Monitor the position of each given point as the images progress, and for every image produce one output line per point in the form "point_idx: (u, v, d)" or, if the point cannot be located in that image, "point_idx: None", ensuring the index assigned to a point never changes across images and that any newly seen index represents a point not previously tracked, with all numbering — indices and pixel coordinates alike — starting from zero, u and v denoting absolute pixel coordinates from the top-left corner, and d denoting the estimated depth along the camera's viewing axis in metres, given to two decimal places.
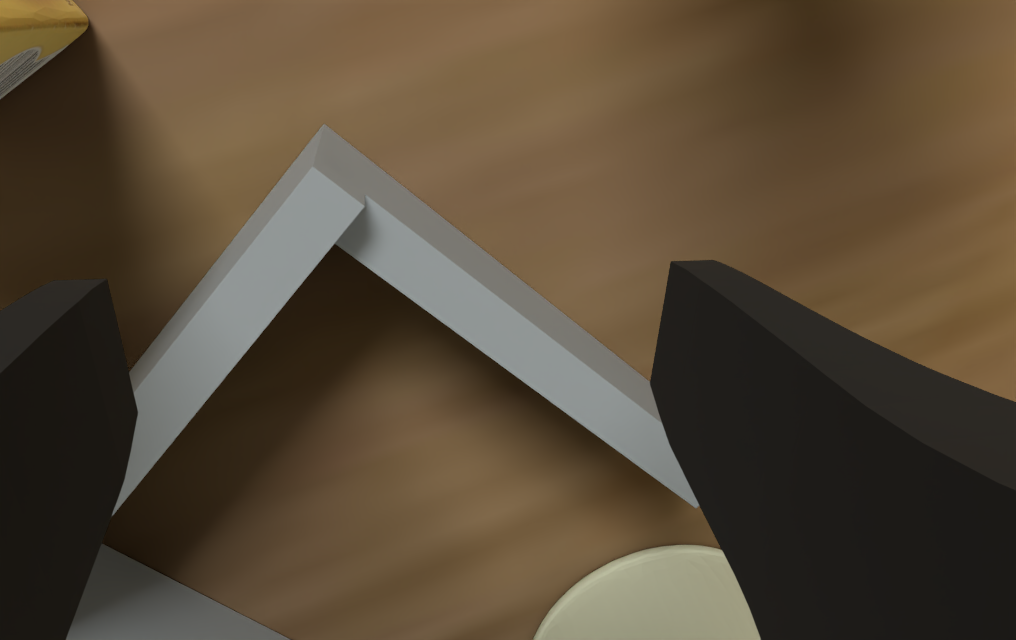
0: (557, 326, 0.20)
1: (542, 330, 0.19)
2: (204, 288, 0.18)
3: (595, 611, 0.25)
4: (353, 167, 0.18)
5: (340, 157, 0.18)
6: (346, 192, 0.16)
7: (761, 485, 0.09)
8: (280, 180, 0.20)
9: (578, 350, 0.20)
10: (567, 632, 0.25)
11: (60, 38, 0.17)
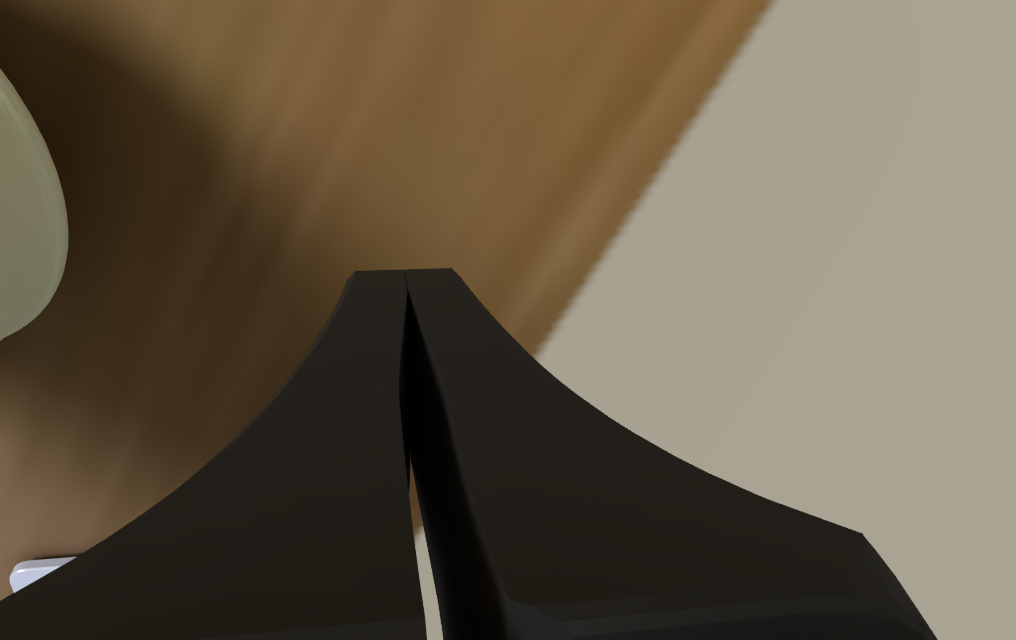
0: None
1: None
2: None
3: None
4: None
5: None
6: None
7: (439, 510, 0.08)
8: None
9: None
10: None
11: None
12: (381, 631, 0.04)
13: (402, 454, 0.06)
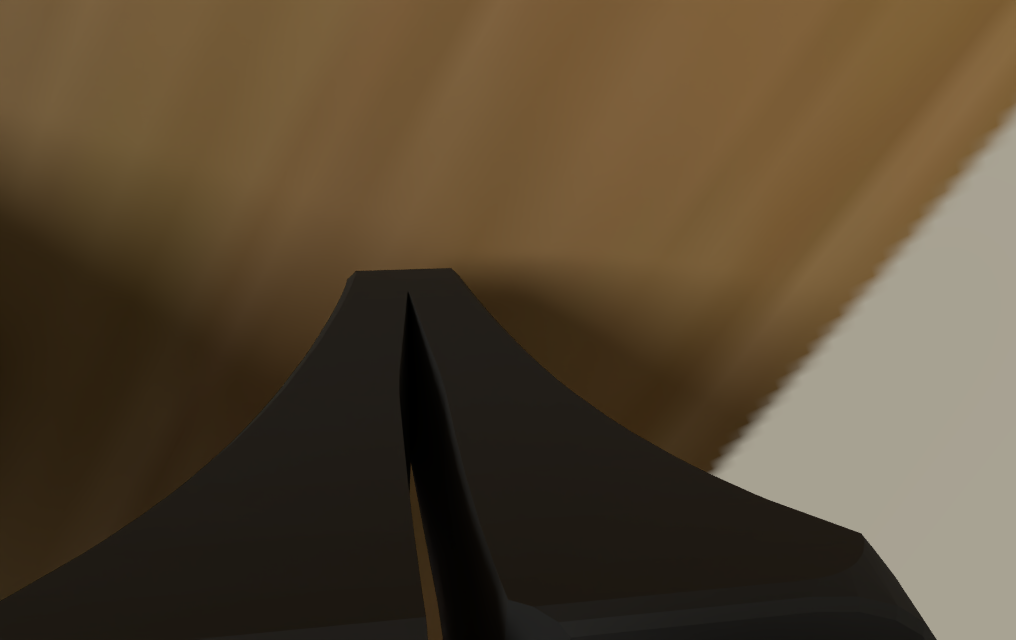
0: None
1: None
2: None
3: None
4: None
5: None
6: None
7: (438, 510, 0.08)
8: None
9: None
10: None
11: None
12: (381, 631, 0.04)
13: (402, 454, 0.06)
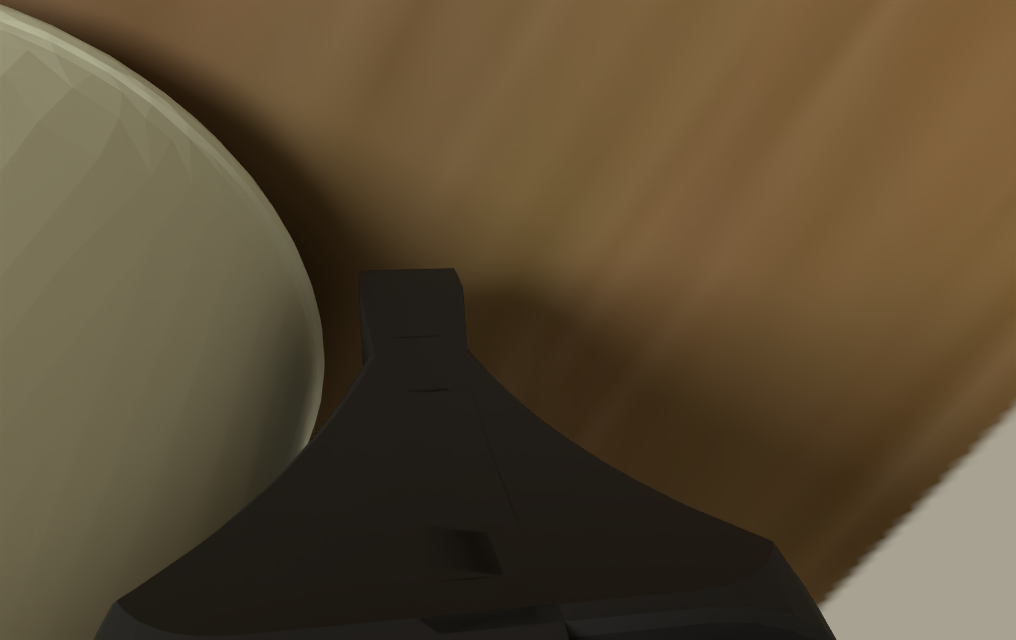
0: None
1: None
2: None
3: None
4: None
5: None
6: None
7: None
8: None
9: None
10: None
11: None
12: (520, 618, 0.04)
13: (487, 449, 0.06)
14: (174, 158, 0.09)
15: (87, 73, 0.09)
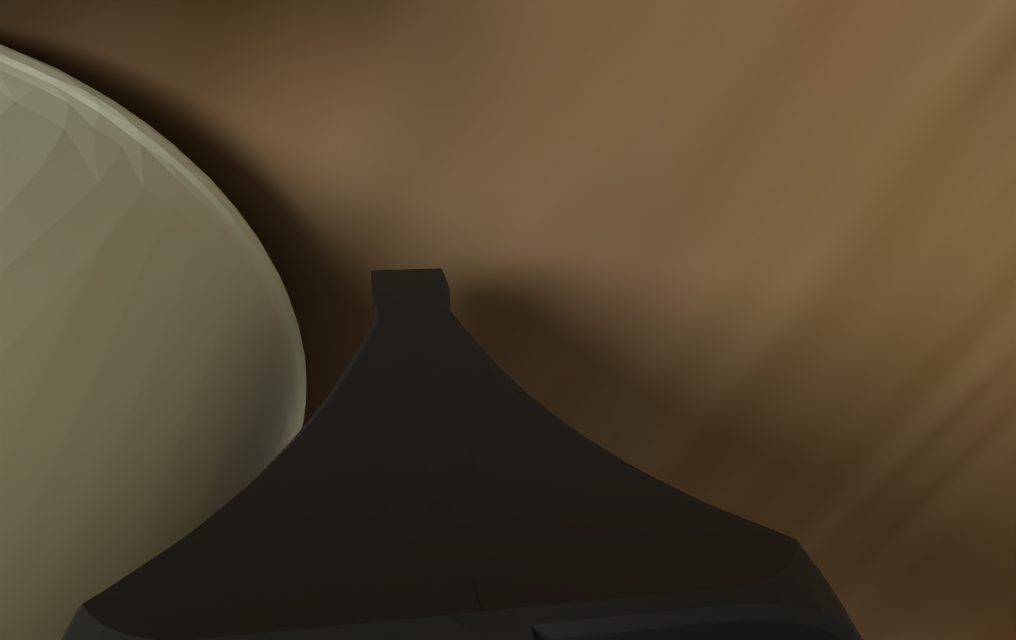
0: None
1: None
2: None
3: None
4: None
5: None
6: None
7: None
8: None
9: None
10: None
11: None
12: (485, 621, 0.04)
13: (466, 450, 0.06)
14: (125, 165, 0.09)
15: (32, 86, 0.09)
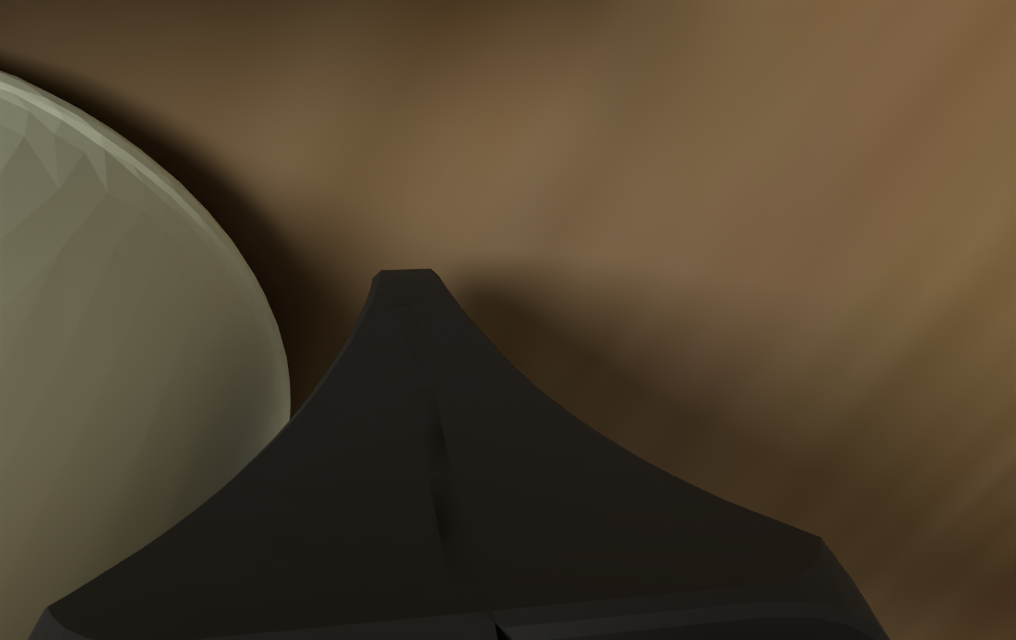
0: None
1: None
2: None
3: None
4: None
5: None
6: None
7: None
8: None
9: None
10: None
11: None
12: (451, 625, 0.04)
13: (445, 452, 0.06)
14: (87, 170, 0.09)
15: None
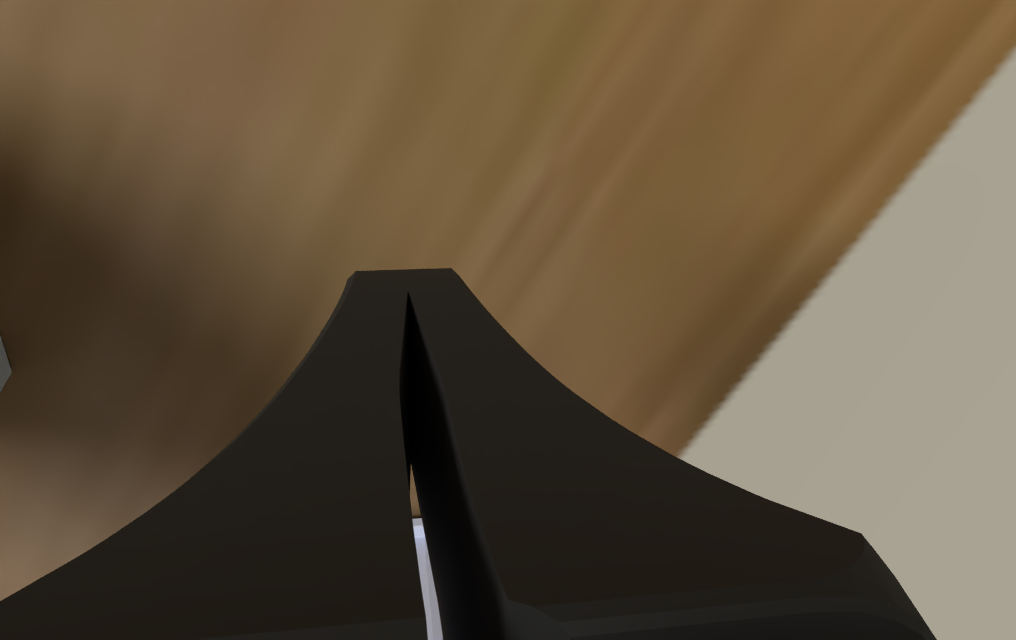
0: None
1: None
2: None
3: None
4: None
5: None
6: None
7: (438, 510, 0.08)
8: None
9: None
10: None
11: None
12: (381, 631, 0.04)
13: (402, 454, 0.06)
14: None
15: None
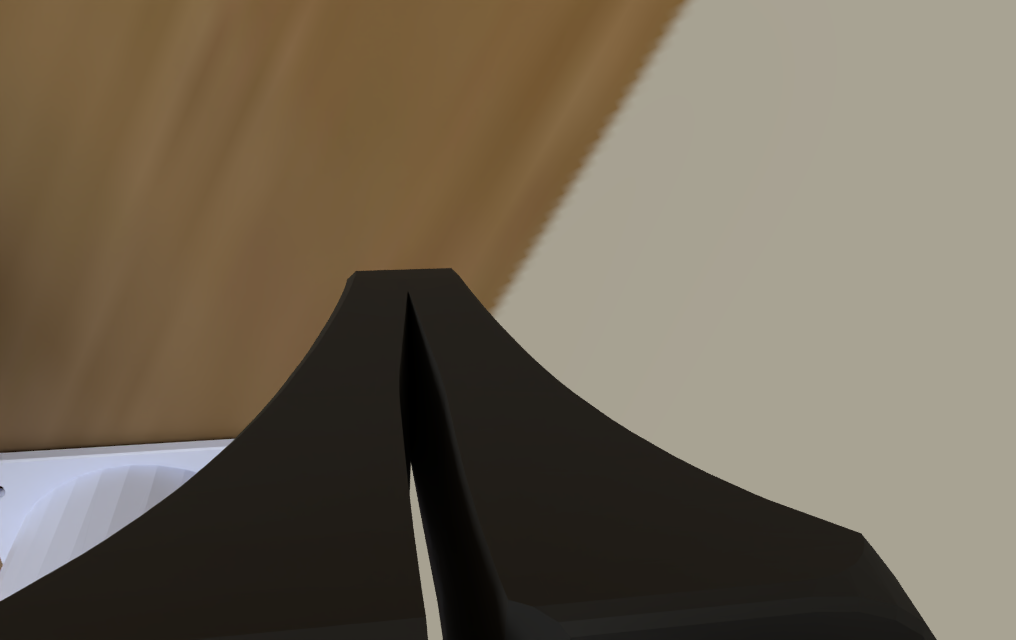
0: None
1: None
2: None
3: None
4: None
5: None
6: None
7: (438, 510, 0.08)
8: None
9: None
10: None
11: None
12: (382, 632, 0.04)
13: (402, 454, 0.06)
14: None
15: None
